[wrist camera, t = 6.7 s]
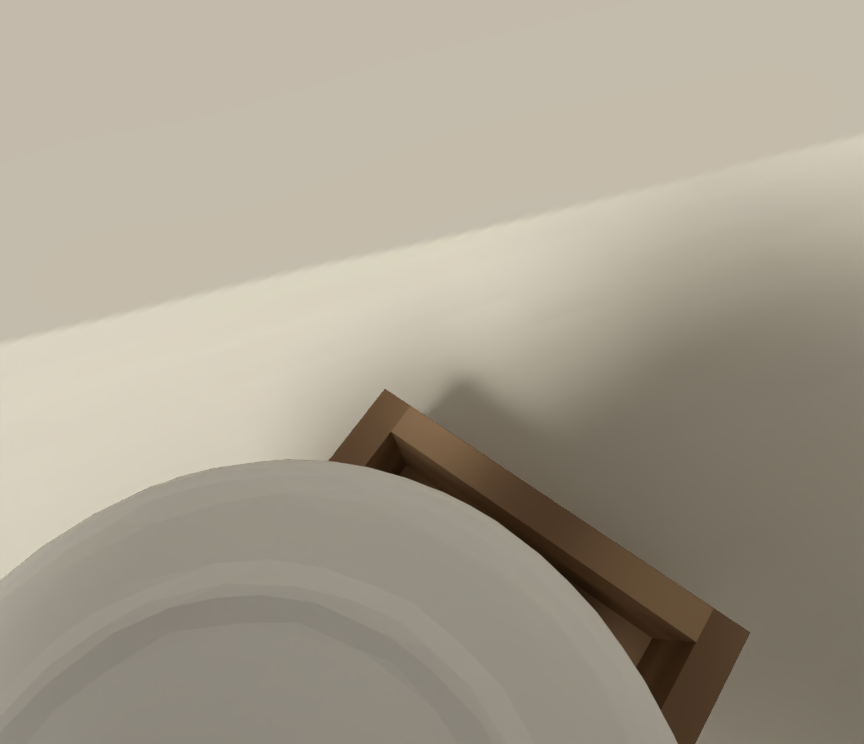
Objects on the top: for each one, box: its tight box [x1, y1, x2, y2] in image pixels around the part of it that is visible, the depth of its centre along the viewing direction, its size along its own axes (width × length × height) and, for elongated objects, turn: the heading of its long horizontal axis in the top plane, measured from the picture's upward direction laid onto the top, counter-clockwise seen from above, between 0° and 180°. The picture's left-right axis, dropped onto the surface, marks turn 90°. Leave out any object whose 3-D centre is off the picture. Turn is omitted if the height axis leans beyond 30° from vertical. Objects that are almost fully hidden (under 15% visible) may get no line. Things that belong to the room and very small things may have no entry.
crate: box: [329, 389, 750, 744], centre depth 14 cm, size 10×10×4 cm
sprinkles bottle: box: [0, 459, 678, 744], centre depth 9 cm, size 5×5×14 cm
